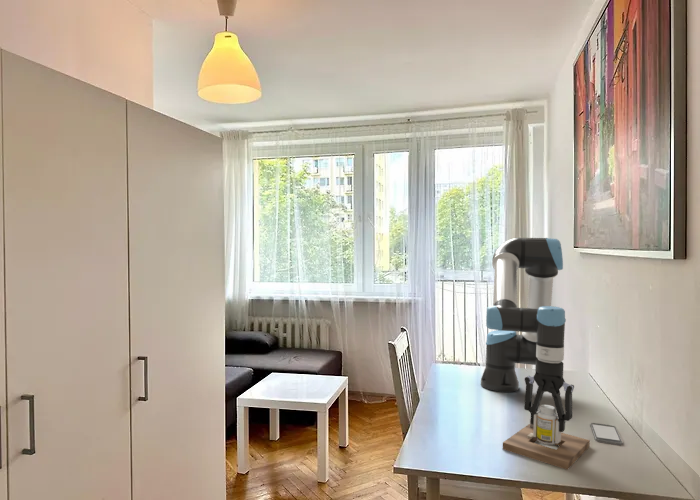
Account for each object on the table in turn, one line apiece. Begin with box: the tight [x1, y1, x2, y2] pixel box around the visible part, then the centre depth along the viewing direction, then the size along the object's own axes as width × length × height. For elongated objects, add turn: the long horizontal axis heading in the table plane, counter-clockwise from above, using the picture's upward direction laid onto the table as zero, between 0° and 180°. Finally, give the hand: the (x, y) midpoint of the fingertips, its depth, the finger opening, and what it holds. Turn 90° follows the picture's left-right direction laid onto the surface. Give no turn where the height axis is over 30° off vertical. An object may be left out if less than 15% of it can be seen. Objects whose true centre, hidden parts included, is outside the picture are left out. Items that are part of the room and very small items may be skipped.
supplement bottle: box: [537, 404, 558, 446], centre depth 142 cm, size 6×6×10 cm
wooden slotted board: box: [502, 418, 591, 471], centre depth 142 cm, size 20×18×4 cm
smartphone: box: [589, 422, 624, 446], centre depth 154 cm, size 7×1×15 cm
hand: (546, 438), depth 142 cm, fingers closed on supplement bottle, 6 cm apart
